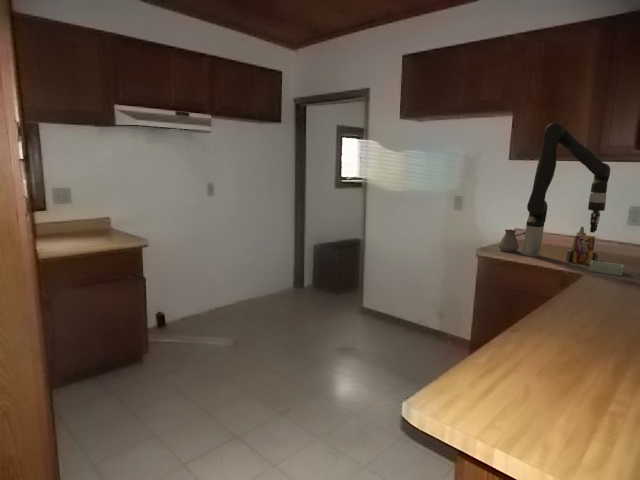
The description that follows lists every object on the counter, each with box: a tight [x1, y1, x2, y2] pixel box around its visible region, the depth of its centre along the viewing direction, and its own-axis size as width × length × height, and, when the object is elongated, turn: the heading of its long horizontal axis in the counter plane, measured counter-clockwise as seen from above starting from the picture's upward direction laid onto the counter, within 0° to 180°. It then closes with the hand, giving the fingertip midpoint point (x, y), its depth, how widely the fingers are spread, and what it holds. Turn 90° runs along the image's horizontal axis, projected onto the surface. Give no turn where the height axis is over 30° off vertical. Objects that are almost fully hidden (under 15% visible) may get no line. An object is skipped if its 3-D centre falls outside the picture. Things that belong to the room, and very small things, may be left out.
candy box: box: [572, 234, 596, 265], centre depth 233 cm, size 9×4×15 cm, turn 54°
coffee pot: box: [498, 229, 526, 253], centre depth 258 cm, size 21×12×15 cm, turn 61°
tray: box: [588, 260, 625, 276], centre depth 215 cm, size 14×9×4 cm, turn 52°
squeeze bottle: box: [570, 226, 587, 250], centre depth 248 cm, size 8×8×18 cm
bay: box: [566, 248, 601, 263], centre depth 234 cm, size 14×8×6 cm, turn 52°
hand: (593, 231), depth 229 cm, fingers open, 8 cm apart
